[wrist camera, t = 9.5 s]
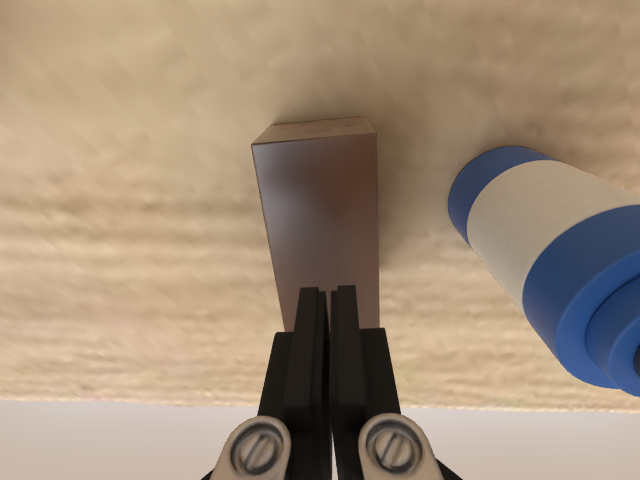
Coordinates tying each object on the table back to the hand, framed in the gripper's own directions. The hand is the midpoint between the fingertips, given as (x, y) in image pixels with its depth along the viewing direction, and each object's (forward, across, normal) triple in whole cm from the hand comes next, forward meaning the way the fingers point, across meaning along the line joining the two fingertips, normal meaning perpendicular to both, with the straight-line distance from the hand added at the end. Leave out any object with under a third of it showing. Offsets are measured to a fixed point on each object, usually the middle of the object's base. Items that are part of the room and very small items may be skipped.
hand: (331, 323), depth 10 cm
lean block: (+10, 0, 0) cm, 10 cm away
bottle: (+9, -5, 0) cm, 11 cm away
